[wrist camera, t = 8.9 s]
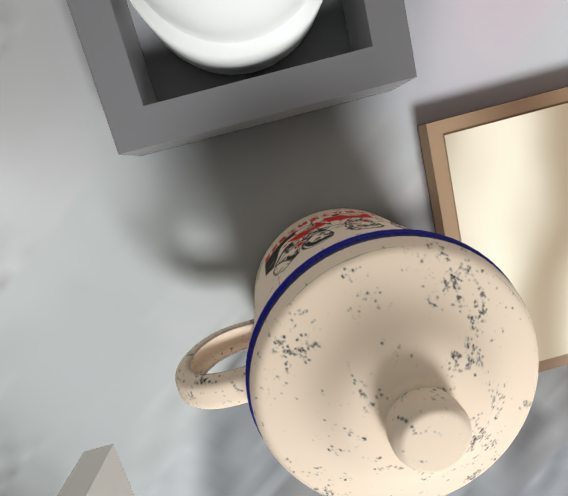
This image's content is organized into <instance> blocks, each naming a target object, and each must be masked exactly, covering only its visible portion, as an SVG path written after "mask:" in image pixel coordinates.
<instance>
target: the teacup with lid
mask: <svg viewBox="0 0 568 496" xmlns="http://www.w3.org/2000/svg"><path fill="white" fill-rule="evenodd" d="M247 349H248V353H247V359H246V366H243V367H240V368H236V369H232V370H228V371H224V372H219V373H213V374H206V373H207V372H208V371H209V370H210V369H211V368H213V367H214V366H215V365H216V364H217V363H219V362H220V361H222V360H223V359H225V358H227V357H229V356H231V355H233V354H236V353H238V352H241V351H244V350H247ZM538 368H539V357H538V346H537V340H536V334H535V330H534V327H533V323H532V320H531V317H530V315H529V312H528V310H527V307H526V306H525V304H524V302H523V300H522V298H521V296H520V295H519V293H518V292H517V291H516V289H515V288H514V286H513V285H512V283H511V282H510V280H509V279H508V278H507V277H506V275H505V274H504V273H503V272H502V271H501V270H500V269H499V268H498V267H497V266H496V265H495V264H494V263H493V262H492V261H491V260H490V259H488V258H487V257H485V256H484V255H483V254H481V253H480V252H479V251H477V250H475V249H474V248H472V247H470V246H468V245H467V244H465V243H462V242H460V241H458V240H455V239H453V238H450V237H447V236H444V235H441V234H438V233H433V232H428V231H422V230H412V229H408V228H406V227H403V226H401V225H399V224H396V223H394V222H392V221H389V220H387V219H385V218H382V217H380V216H377V215H375V214H373V213H370V212H366V211H362V210H358V209H349V208H338V209H329V210H324V211H320V212H316V213H313V214H311V215H308V216H306V217H304V218H302V219H300V220H298V221H296V222H295V223H293V224H292V225H290V226H289V227H288V228H287V229H285V230H284V231H283V232H282V233H281V234H280V235H279V236H278V237H277V238H276V239H275V241H274V242H273V243H272V244H271V246H270V247H269V249H268V250H267V252H266V254H265V256H264V257H263V259H262V262H261V264H260V267H259V270H258V273H257V277H256V283H255V306H254V319H253V320H249V321H245V322H242V323H238V324H235V325H232V326H229V327H227V328H224V329H222V330H219V331H217V332H215V333H213V334H211V335H210V336H208V337H206V338H205V339H203V340H202V341H200V342H199V343H198V344H196V345H195V346H194V347H193V348H192V349H191V350H190V351H189V352H188V353H187V354H186V355H185V356H184V357H183V359H182V360H181V362H180V363H179V365H178V367H177V370H176V374H175V381H176V384H177V388H178V391H179V394H180V396H181V398H182V399H183V400H184V401H185V402H186V403H187V404H189V405H191V406H194V407H197V408H202V409H219V408H226V407H231V406H235V405H239V404H243V403H247V402H248V403H249V407H250V411H251V414H252V417H253V420H254V422H255V425H256V427H257V429H258V431H259V433H260V435H261V436H262V438H263V440H264V441H265V443H266V444H267V446H268V448H269V449H270V451H271V452H272V454H273V455H274V456H275V457H276V459H277V460H278V461H279V462H280V463H281V464H282V465H283V466H284V468H285V469H286V470H287V471H289V472H290V473H291V474H292V475H293V476H295V477H296V478H297V479H298V480H299V481H301V482H302V483H304V484H305V485H307V486H308V487H310V488H311V489H313V490H315V491H317V492H319V493H321V494H323V495H325V496H444V495H447V494H449V493H451V492H453V491H455V490H457V489H459V488H461V487H462V486H464V485H466V484H467V483H469V482H471V481H472V480H473V479H475V478H476V477H478V476H479V475H481V474H482V473H483V472H484V471H485V470H487V469H488V468H489V467H490V466H491V465H492V464H493V463H494V462H495V461H496V460H497V459H498V458H499V457H500V456H501V455H502V454H503V453H504V452H505V450H506V449H507V448H508V447H509V446H510V444H511V443H512V441H513V440H514V439H515V437H516V436H517V434H518V432H519V430H520V429H521V427H522V425H523V423H524V421H525V419H526V417H527V415H528V413H529V410H530V407H531V404H532V402H533V398H534V394H535V390H536V386H537V379H538Z"/></svg>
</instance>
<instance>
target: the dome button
mask: <svg viewBox="0 0 568 496" xmlns="http://www.w3.org/2000/svg"><path fill="white" fill-rule="evenodd" d="M129 1H130V2H131V4H132V5H133V7H134V8H135V9H136V10H137V12H138V13H139V14H140V16H141V17H142V18H143V19H144V21H145V22H146V23H147V24H148V26H149V27H150V28H151V30H152V31H153V32H154V33H155V35H156V36H157V37H158V38H159V39H160V40H161V42H162V43H163V44H164V45H165V46H166V47H167V48H168V49H170V50H171V51H172V52H173V53H174V54H176V55H177V56H178V57H180V58H181V59H183V60H184V61H186V62H188V63H190V64H191V65H193V66H195V67H198V68H200V69H203V70H206V71H209V72H214V73H218V74H227V75H239V74H247V73H253V72H257V71H259V70H262V69H265V68H268V67H270V66H272V65H274V64H276V63H277V62H279V61H280V60H282V59H283V58H285V57H286V56H287V55H289V54H290V53H291V52H292V51H293V50H294V49H295V48H296V47H297V46H298V45H299V44H300V42H301V41H302V40H303V39H304V38H305V36H306V34H307V33H308V31H309V30H310V28H311V27H312V24H313V22H314V20H315V18H316V16H317V14H318V11H319V9H320V6H321V4H322V1H323V0H129Z"/></svg>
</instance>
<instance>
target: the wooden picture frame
mask: <svg viewBox="0 0 568 496" xmlns="http://www.w3.org/2000/svg"><path fill="white" fill-rule="evenodd" d="M418 131H419V137H420V143H421V148H422V154H423V160H424V166H425V171H426V177H427V183H428V188H429V194H430V200H431V206H432V211H433V217H434V223H435V228H436V233H438V234H441V235H444V236H447V237H450V238H453V239H455V240H458V241H460V242H462V243H465V244H467V245H468V246H470V247H472V248H474V249H475V250H477V251H479V252H480V253H481V254H483V255H484V256H485V257H487V258H488V259H490V260H491V261H492V262H493V263H494V264H495V265H496V266H497V267H498V268H499V269H500V270H501V271H502V272H503V273H504V274H505V275H506V277H507V278H508V279H509V280H510V282H511V283H512V285H513V286H514V288H515V289H516V291H517V292H518V293H519V295H520V296H521V298H522V300H523V302H524V304H525V306H526V307H527V310H528V312H529V315H530V317H531V320H532V323H533V327H534V330H535V334H536V340H537V346H538V357H539V368H538V372H542V371H545V370H549V369H553V368H556V367H560V366H564V365H568V87H564V88H561V89H557V90H553V91H549V92H545V93H542V94H538V95H534V96H530V97H526V98H523V99H519V100H515V101H511V102H507V103H504V104H500V105H496V106H492V107H488V108H485V109H481V110H477V111H473V112H469V113H466V114H462V115H458V116H454V117H450V118H447V119H443V120H439V121H435V122H431V123H427V124H424V125H420V126H418Z"/></svg>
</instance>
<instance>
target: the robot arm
mask: <svg viewBox="0 0 568 496" xmlns="http://www.w3.org/2000/svg"><path fill="white" fill-rule="evenodd" d="M57 496H134V494H133V491H132V489H131V486H130V484H129V481H128V479H127V477H126V474H125V472H124V469H123V467H122V464H121V462H120V459H119V457H118V455H117V452H116V450H115V447H114V445H113V444H112V445H108V446H104V447H100V448H96V449H93V450H89V451H85V452H83V454H82V456H81V457H80V459H79V461H78V462H77V464H76V466H75V467H74V469H73V471H72V472H71V474H70V476H69V477H68V479H67V480H66V482H65V484H64V485H63V487H62V489H61V490H60V492H59V494H58V495H57Z"/></svg>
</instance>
